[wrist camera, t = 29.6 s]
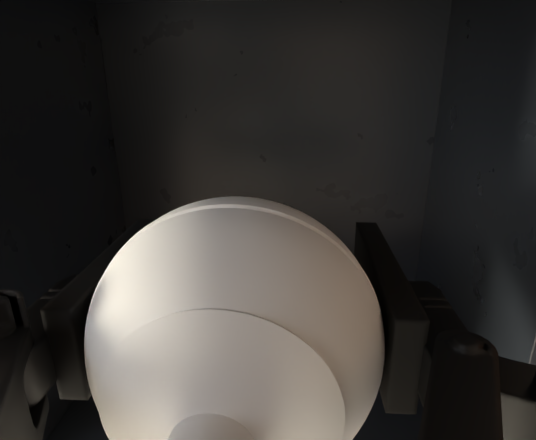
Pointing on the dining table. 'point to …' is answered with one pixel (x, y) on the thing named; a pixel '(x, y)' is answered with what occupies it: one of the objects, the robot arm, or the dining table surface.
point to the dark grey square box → (277, 141)
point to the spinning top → (234, 329)
